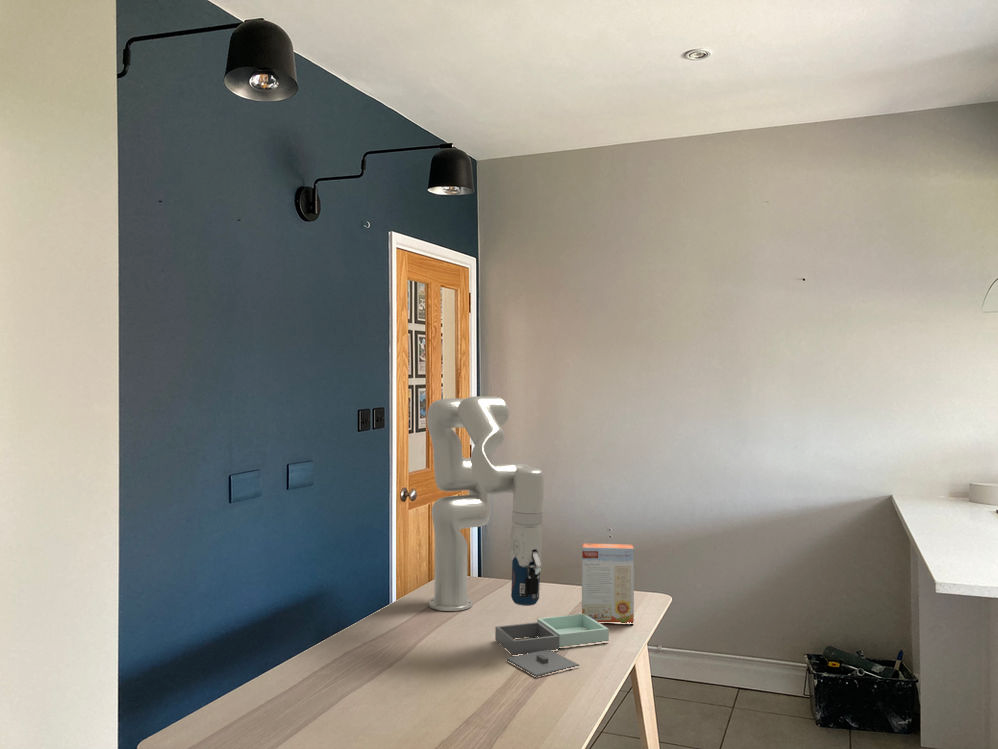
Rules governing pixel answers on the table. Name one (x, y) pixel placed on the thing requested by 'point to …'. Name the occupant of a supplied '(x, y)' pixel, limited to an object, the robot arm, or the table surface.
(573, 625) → the bin
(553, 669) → the lid
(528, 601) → the soda can
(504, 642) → the bin
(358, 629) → the table surface
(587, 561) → the cracker box
